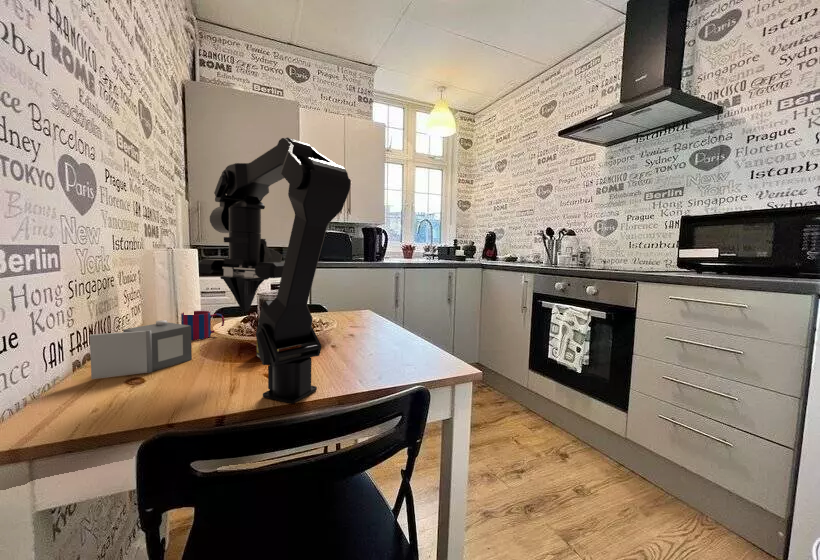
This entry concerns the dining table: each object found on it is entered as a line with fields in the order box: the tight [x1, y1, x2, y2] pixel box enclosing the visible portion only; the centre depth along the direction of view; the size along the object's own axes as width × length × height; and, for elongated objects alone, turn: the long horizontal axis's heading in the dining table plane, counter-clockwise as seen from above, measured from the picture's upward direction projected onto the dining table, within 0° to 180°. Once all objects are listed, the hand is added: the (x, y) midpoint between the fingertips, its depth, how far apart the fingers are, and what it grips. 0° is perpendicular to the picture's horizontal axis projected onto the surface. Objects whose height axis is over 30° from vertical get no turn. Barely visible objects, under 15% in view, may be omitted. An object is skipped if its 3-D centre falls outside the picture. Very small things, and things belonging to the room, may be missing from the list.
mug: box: [180, 310, 225, 341], centre depth 93 cm, size 7×10×7 cm
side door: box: [89, 330, 153, 380], centre depth 63 cm, size 9×1×8 cm, turn 121°
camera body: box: [122, 319, 193, 372], centre depth 71 cm, size 8×9×8 cm
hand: (245, 311), depth 69 cm, fingers closed
